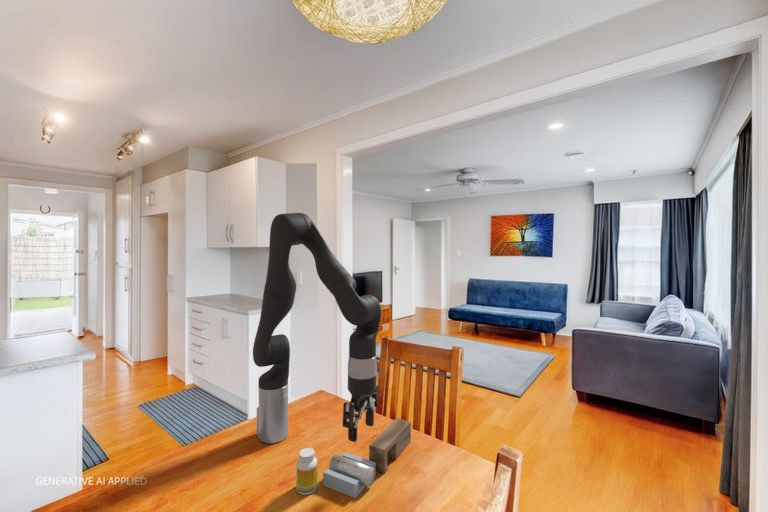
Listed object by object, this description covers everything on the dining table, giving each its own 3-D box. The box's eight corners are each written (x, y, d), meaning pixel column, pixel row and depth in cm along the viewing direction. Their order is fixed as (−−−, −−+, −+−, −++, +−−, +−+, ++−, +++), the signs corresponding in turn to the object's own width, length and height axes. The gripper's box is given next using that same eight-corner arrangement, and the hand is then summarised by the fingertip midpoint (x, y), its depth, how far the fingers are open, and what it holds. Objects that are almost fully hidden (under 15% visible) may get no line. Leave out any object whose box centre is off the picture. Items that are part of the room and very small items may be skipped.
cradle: (323, 485, 92) (323, 472, 92) (345, 464, 101) (345, 452, 101) (355, 498, 87) (355, 484, 87) (375, 474, 96) (375, 462, 96)
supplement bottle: (294, 485, 92) (294, 449, 92) (314, 479, 94) (314, 444, 94) (298, 498, 87) (298, 460, 87) (319, 491, 90) (319, 455, 89)
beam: (369, 468, 99) (369, 445, 99) (396, 437, 115) (396, 417, 115) (384, 473, 97) (384, 450, 96) (410, 441, 112) (410, 421, 112)
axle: (329, 474, 95) (329, 459, 95) (338, 466, 98) (338, 451, 98) (367, 489, 89) (367, 472, 89) (375, 480, 93) (375, 464, 93)
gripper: (360, 384, 84) (359, 451, 84) (387, 366, 96) (386, 423, 97) (334, 378, 87) (333, 442, 88) (363, 361, 100) (363, 417, 100)
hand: (361, 432), depth 92 cm, fingers open, 8 cm apart
